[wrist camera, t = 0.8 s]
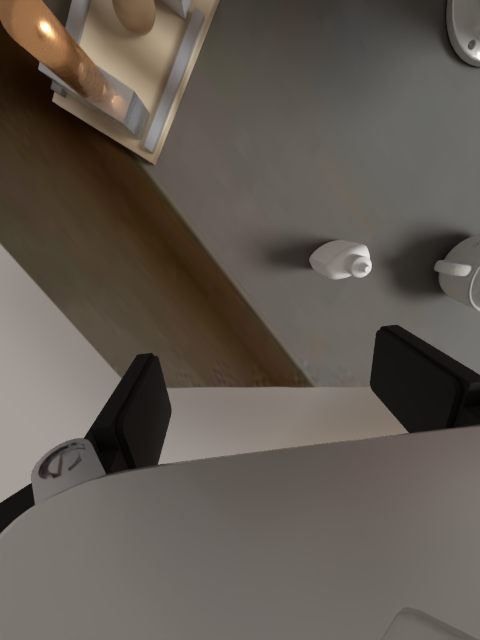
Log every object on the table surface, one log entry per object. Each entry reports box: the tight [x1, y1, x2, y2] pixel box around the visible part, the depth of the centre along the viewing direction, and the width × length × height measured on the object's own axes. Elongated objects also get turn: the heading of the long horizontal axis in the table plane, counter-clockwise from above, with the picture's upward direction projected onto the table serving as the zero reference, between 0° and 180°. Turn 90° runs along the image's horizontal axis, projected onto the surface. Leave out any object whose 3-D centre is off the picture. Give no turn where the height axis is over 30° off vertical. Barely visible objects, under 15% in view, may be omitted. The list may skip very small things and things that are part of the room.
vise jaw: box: [0, 0, 150, 140], centre depth 22 cm, size 3×8×14 cm, turn 60°
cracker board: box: [51, 0, 220, 165], centre depth 25 cm, size 18×12×8 cm, turn 150°
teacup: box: [434, 234, 480, 312], centre depth 36 cm, size 14×11×8 cm
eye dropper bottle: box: [309, 240, 372, 279], centre depth 33 cm, size 4×6×12 cm
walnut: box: [112, 0, 156, 36], centre depth 24 cm, size 4×4×4 cm
